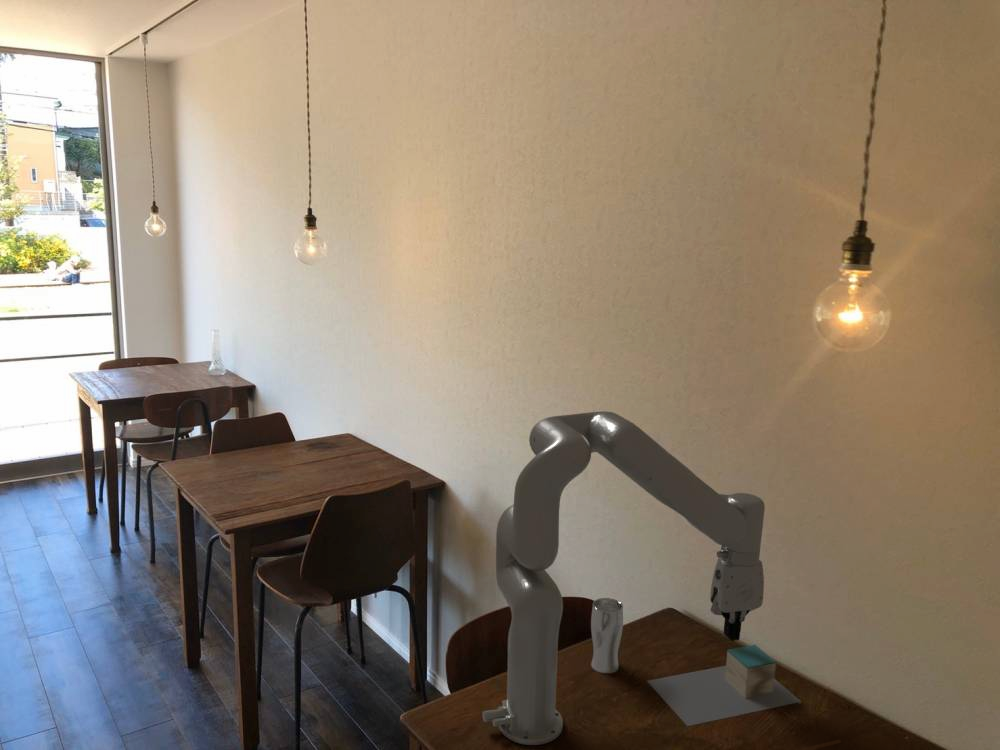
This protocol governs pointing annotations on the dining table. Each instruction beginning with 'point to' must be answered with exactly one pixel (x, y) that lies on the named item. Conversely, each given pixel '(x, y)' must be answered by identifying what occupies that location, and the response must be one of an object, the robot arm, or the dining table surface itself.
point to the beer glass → (606, 634)
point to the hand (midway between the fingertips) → (731, 637)
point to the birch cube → (750, 671)
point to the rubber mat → (714, 696)
